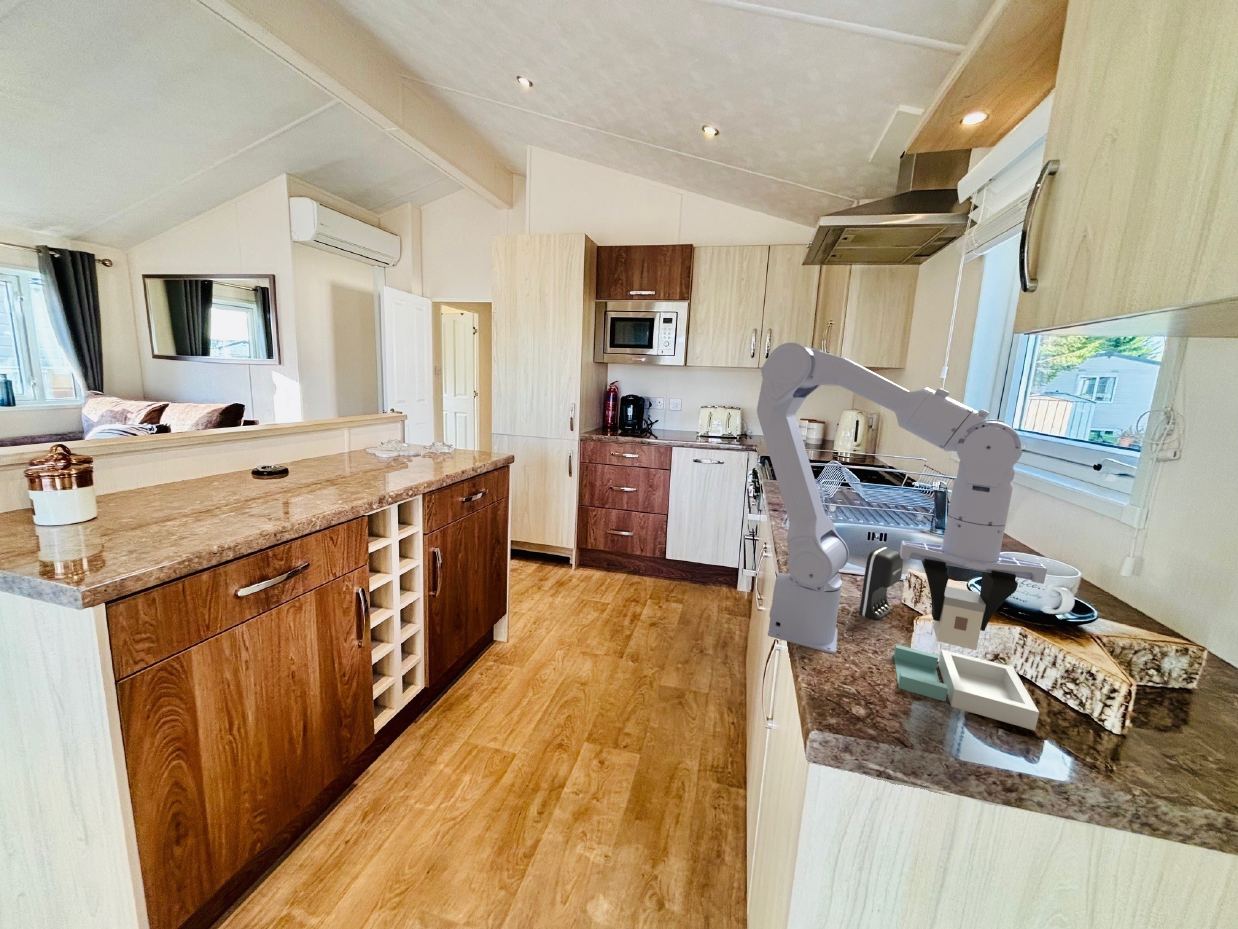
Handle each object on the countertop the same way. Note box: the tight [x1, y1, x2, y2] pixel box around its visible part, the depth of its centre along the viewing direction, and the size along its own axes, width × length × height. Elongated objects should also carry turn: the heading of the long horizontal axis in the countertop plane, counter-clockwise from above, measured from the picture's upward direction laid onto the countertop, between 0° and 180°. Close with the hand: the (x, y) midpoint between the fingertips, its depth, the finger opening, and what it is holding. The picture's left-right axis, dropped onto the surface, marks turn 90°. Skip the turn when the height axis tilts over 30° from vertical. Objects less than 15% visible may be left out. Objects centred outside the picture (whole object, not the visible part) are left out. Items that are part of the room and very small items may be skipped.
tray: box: [937, 649, 1040, 731], centre depth 60 cm, size 8×10×3 cm
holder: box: [893, 644, 948, 702], centre depth 63 cm, size 8×5×2 cm, turn 154°
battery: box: [858, 546, 904, 621], centre depth 80 cm, size 7×4×11 cm, turn 131°
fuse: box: [932, 585, 986, 651], centre depth 60 cm, size 4×4×6 cm
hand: (956, 622), depth 60 cm, fingers closed on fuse, 4 cm apart
